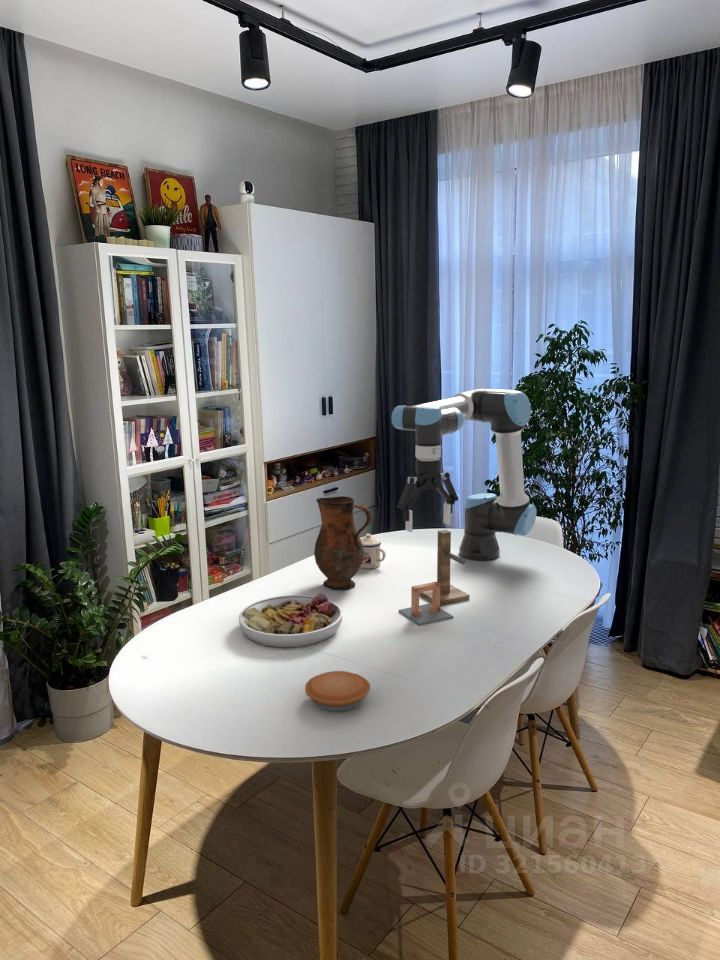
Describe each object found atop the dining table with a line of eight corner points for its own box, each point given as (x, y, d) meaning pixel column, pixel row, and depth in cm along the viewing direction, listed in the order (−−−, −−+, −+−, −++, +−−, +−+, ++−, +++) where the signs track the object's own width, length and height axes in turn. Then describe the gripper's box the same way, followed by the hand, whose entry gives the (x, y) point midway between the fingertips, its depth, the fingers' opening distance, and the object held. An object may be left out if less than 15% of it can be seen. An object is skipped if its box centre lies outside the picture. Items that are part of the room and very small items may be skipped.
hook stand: (417, 593, 248) (418, 529, 243) (448, 587, 253) (449, 524, 249) (445, 611, 234) (446, 542, 229) (477, 604, 239) (479, 537, 234)
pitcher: (332, 573, 268) (330, 491, 262) (384, 584, 257) (383, 498, 250) (304, 587, 255) (301, 501, 248) (357, 600, 243) (356, 509, 237)
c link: (436, 609, 234) (436, 581, 232) (440, 611, 232) (440, 583, 230) (411, 614, 230) (411, 586, 228) (414, 616, 228) (414, 588, 226)
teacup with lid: (351, 566, 276) (350, 535, 274) (366, 559, 283) (366, 529, 281) (377, 572, 269) (377, 541, 266) (392, 565, 276) (392, 535, 273)
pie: (373, 715, 174) (373, 695, 173) (306, 719, 173) (305, 699, 172) (366, 683, 189) (366, 664, 188) (304, 686, 188) (304, 668, 187)
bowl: (287, 662, 201) (286, 634, 200) (218, 631, 221) (217, 606, 220) (363, 627, 223) (363, 602, 221) (294, 602, 243) (293, 579, 241)
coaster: (431, 604, 239) (431, 602, 239) (453, 617, 229) (453, 616, 228) (398, 611, 234) (398, 609, 234) (419, 625, 223) (419, 623, 223)
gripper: (398, 465, 215) (398, 537, 220) (470, 456, 227) (469, 524, 231) (385, 461, 222) (386, 530, 227) (455, 452, 233) (455, 518, 238)
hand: (428, 527), depth 229 cm, fingers open, 13 cm apart
